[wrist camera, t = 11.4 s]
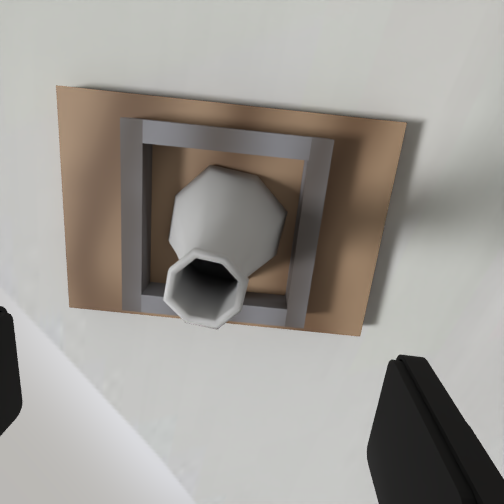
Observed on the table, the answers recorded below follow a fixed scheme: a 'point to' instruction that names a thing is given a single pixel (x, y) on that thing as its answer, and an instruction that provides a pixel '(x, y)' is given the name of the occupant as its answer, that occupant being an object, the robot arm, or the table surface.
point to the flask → (220, 243)
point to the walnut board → (235, 158)
